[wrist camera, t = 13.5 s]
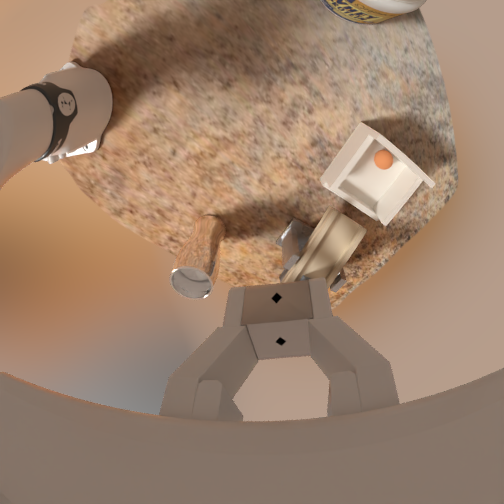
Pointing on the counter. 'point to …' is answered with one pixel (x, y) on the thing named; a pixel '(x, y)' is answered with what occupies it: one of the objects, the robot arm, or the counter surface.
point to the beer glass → (199, 259)
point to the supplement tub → (370, 9)
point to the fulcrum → (294, 243)
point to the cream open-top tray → (373, 175)
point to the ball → (383, 159)
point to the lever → (326, 249)
